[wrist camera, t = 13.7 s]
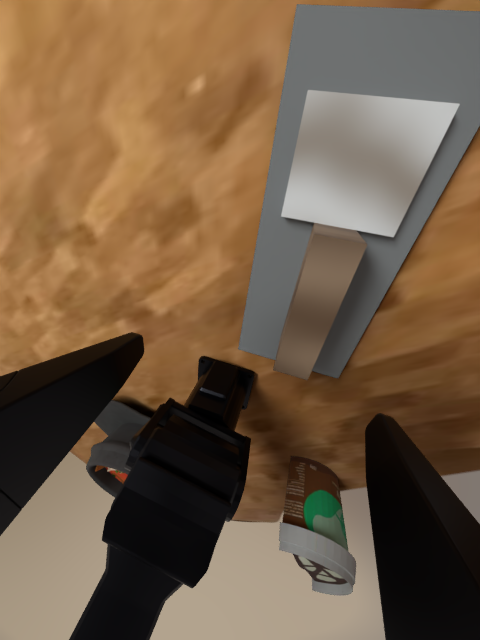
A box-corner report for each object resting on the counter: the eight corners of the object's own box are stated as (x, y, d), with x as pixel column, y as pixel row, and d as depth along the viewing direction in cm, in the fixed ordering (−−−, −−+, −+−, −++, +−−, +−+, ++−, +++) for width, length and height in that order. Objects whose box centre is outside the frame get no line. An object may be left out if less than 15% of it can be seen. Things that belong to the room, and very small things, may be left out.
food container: (356, 501, 33) (370, 608, 24) (314, 496, 35) (313, 592, 27) (334, 450, 28) (342, 562, 20) (287, 449, 31) (277, 547, 23)
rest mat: (337, 374, 22) (337, 378, 21) (239, 346, 23) (238, 349, 23) (532, 20, 9) (541, 14, 9) (297, 10, 11) (297, 4, 11)
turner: (333, 350, 20) (337, 389, 16) (257, 329, 21) (245, 361, 17) (451, 108, 11) (519, 72, 7) (308, 94, 12) (305, 58, 8)
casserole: (87, 411, 42) (44, 455, 36) (125, 373, 32) (74, 426, 25) (186, 482, 47) (164, 534, 40) (245, 470, 37) (230, 535, 30)
